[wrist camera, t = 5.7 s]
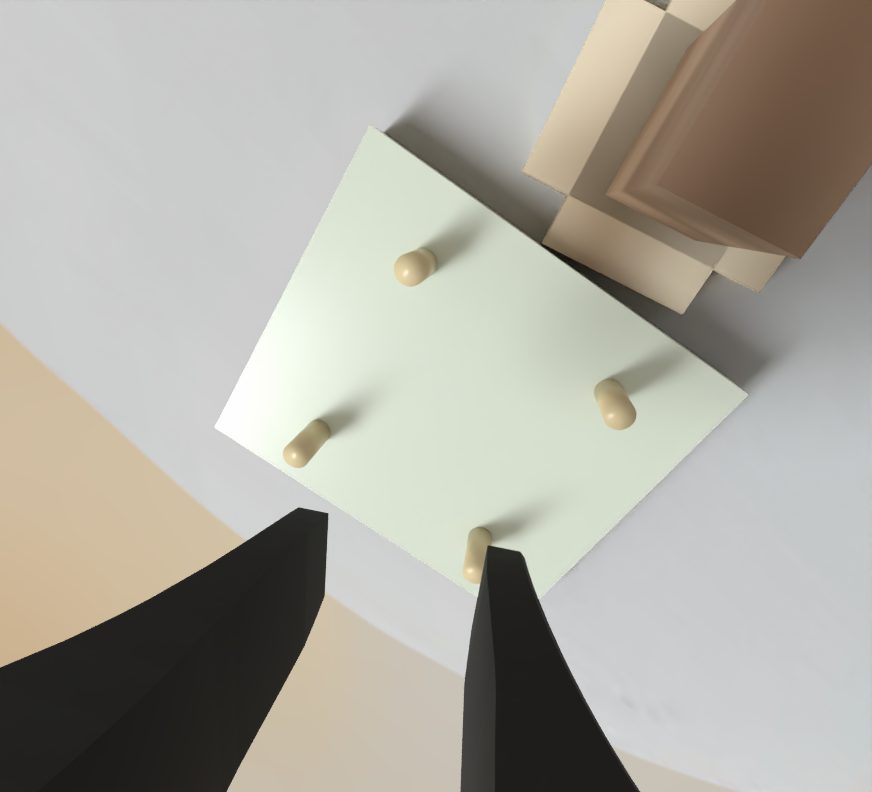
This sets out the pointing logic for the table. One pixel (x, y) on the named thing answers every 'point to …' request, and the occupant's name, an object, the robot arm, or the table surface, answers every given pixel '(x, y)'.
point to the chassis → (464, 380)
